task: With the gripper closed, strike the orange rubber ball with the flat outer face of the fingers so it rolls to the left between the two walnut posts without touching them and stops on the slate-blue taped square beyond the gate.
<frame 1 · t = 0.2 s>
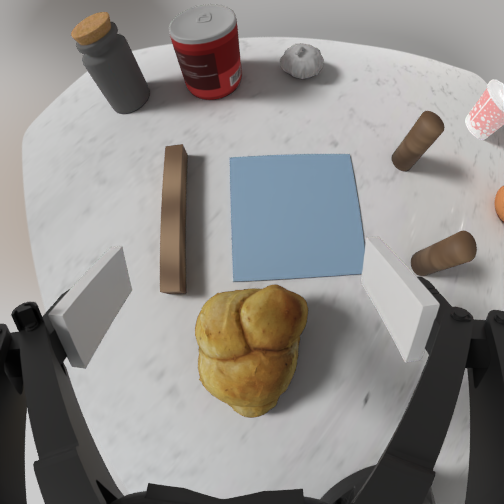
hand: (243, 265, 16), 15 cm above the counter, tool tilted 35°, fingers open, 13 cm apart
canned food: (214, 81, 37), on the counter
garlic: (301, 73, 37), on the counter
bottle: (131, 99, 37), on the counter
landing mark: (297, 212, 33), on the counter
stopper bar: (176, 219, 33), on the counter
bread roll: (247, 350, 30), on the counter
beverage cup: (475, 128, 35), on the counter
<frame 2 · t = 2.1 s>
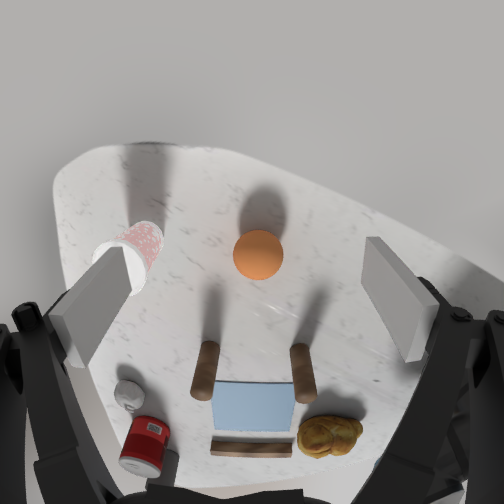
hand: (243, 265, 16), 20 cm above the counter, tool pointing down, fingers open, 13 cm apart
canned food: (151, 425, 52), on the counter
garlic: (133, 386, 47), on the counter
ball: (258, 254, 34), on the counter
bottle: (167, 453, 57), on the counter
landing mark: (252, 409, 48), on the counter
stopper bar: (251, 445, 53), on the counter
bread roll: (327, 424, 50), on the counter
beverage cup: (147, 238, 37), on the counter
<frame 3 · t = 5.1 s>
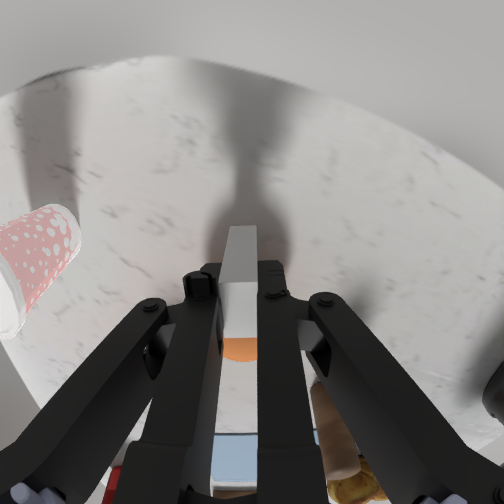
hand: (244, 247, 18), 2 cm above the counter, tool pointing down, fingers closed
canned food: (136, 474, 36), on the counter
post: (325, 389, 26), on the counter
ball: (243, 317, 19), on the counter
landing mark: (261, 460, 31), on the counter
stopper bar: (264, 492, 37), on the counter
bread roll: (366, 462, 34), on the counter
beverage cup: (58, 232, 20), on the counter
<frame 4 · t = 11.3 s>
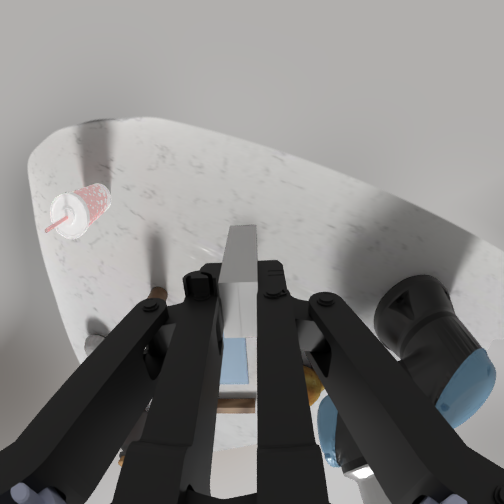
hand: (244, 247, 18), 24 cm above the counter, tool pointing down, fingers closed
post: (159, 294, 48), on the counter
garlic: (102, 340, 53), on the counter
bottle: (143, 415, 63), on the counter
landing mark: (208, 358, 54), on the counter
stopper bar: (216, 401, 59), on the counter
bread roll: (292, 374, 56), on the counter
beverage cup: (98, 197, 42), on the counter
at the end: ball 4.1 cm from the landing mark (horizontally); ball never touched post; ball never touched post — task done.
